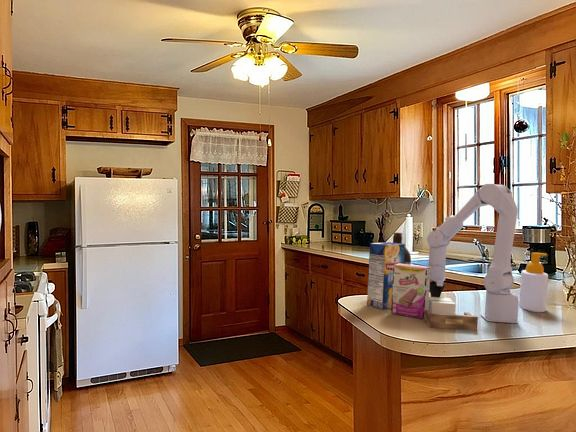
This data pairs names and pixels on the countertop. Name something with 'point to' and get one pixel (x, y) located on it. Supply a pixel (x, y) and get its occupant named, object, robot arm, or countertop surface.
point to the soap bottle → (534, 285)
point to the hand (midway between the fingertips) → (434, 302)
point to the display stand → (451, 321)
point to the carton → (441, 305)
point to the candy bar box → (410, 290)
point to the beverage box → (383, 272)
